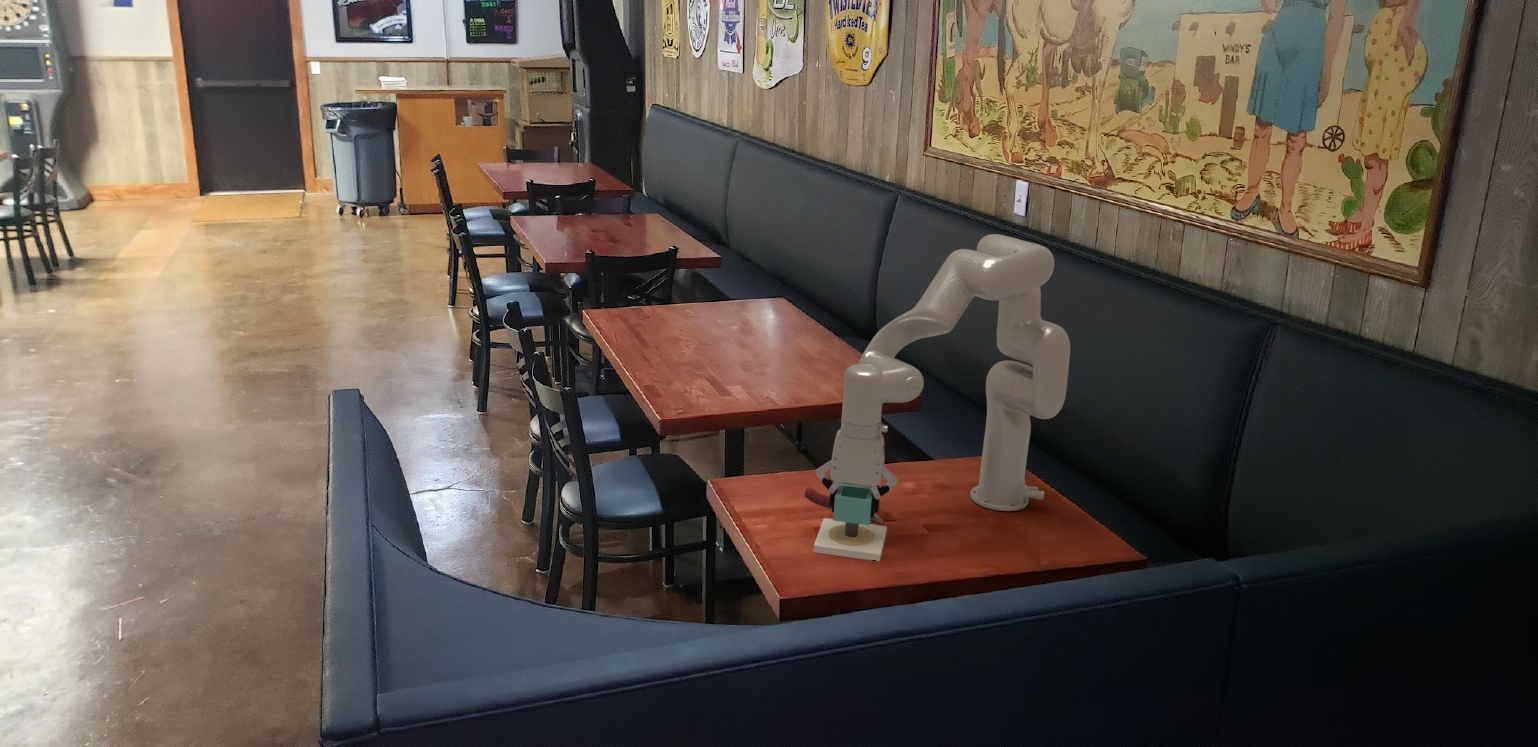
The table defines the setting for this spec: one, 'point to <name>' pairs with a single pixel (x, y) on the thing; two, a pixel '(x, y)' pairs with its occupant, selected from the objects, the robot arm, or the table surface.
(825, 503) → the pliers
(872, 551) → the post stand
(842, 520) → the collar
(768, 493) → the table surface
